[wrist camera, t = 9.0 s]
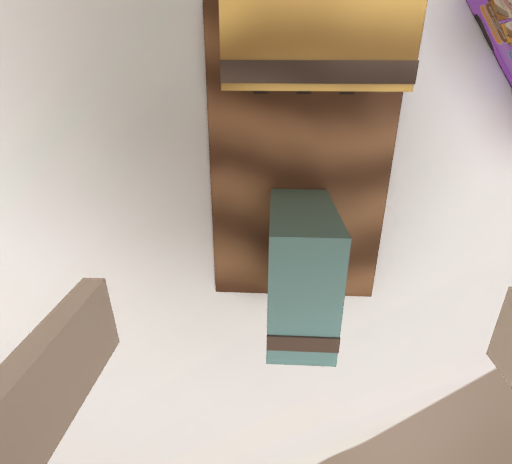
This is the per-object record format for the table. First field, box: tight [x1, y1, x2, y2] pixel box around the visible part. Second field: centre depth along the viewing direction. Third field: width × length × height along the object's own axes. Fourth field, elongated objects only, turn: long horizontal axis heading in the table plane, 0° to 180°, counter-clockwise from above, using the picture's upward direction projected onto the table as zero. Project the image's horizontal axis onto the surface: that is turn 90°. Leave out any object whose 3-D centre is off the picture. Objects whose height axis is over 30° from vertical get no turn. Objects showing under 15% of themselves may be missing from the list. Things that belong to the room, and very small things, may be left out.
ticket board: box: [203, 0, 428, 297], centre depth 27 cm, size 26×16×10 cm, turn 0°
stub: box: [266, 189, 352, 367], centre depth 28 cm, size 10×5×11 cm, turn 0°
